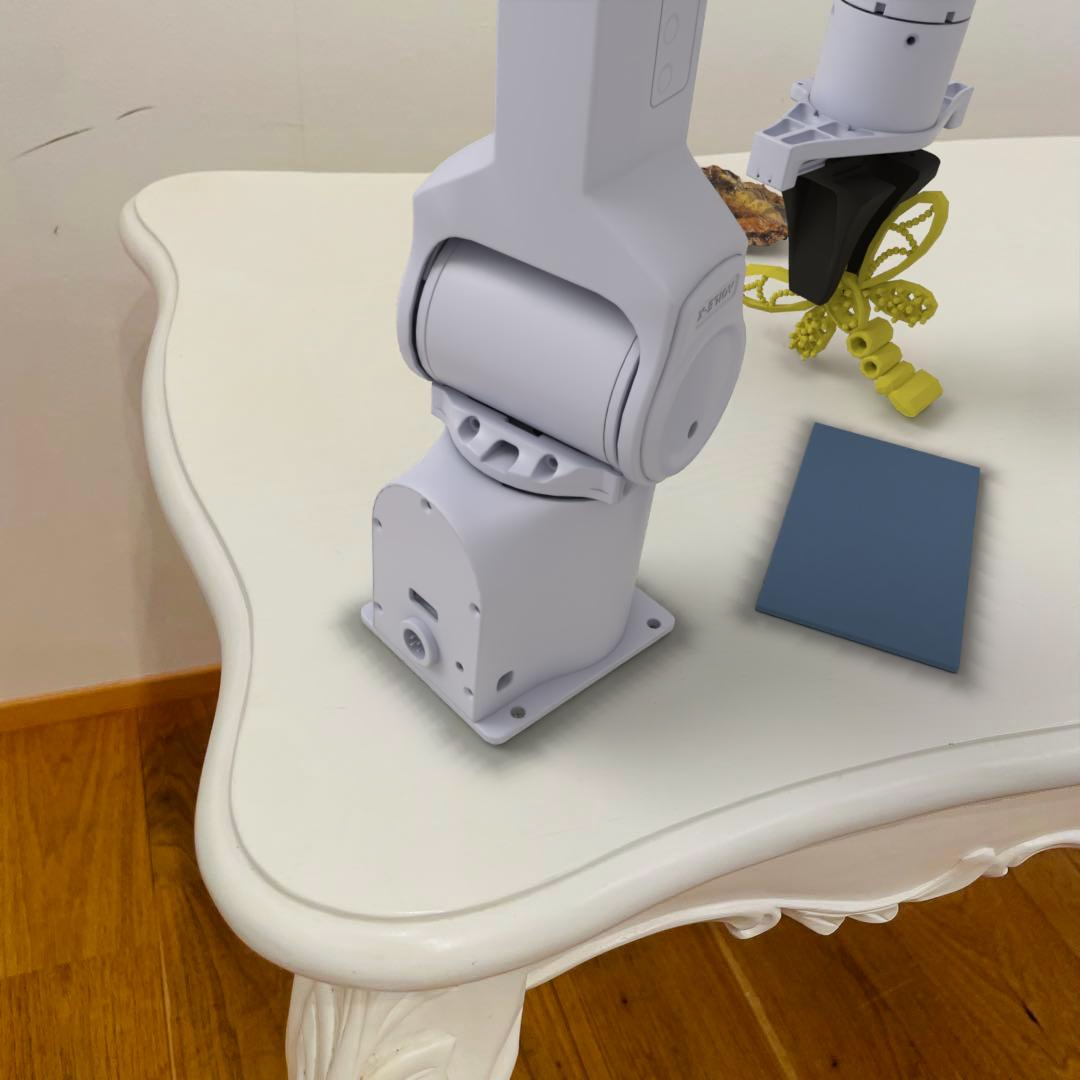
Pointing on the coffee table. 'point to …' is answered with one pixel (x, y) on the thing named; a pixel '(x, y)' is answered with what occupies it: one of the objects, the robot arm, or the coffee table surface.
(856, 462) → the blue rectangular board
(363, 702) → the coffee table surface
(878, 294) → the decorative insect
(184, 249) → the coffee table surface
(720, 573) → the coffee table surface
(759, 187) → the crusty food piece
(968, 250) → the coffee table surface
